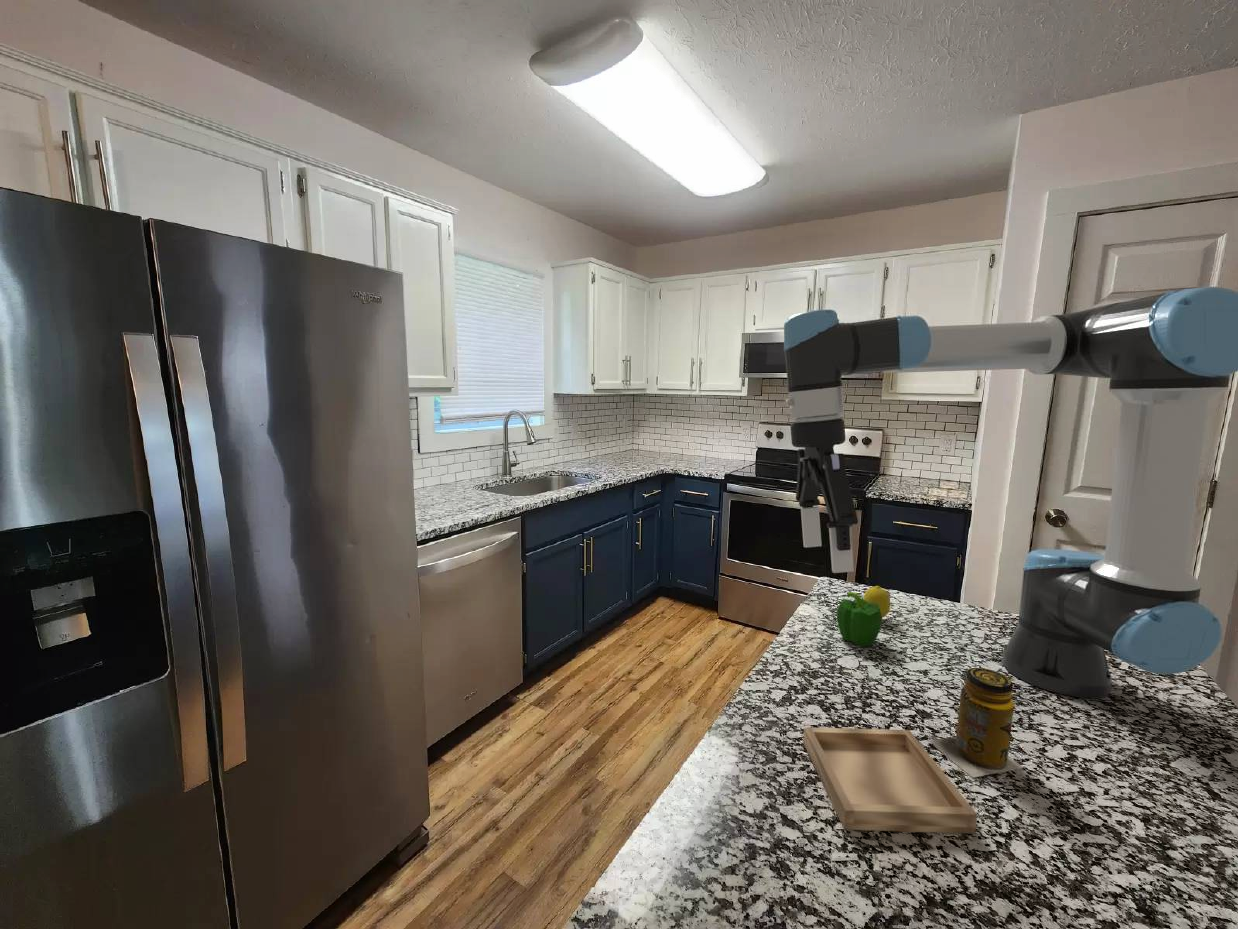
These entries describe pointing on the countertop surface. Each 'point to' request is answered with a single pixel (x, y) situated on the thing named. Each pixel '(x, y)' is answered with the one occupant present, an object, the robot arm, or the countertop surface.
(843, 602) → the bell pepper
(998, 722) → the condiment
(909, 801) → the tray
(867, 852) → the countertop surface
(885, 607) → the lemon
